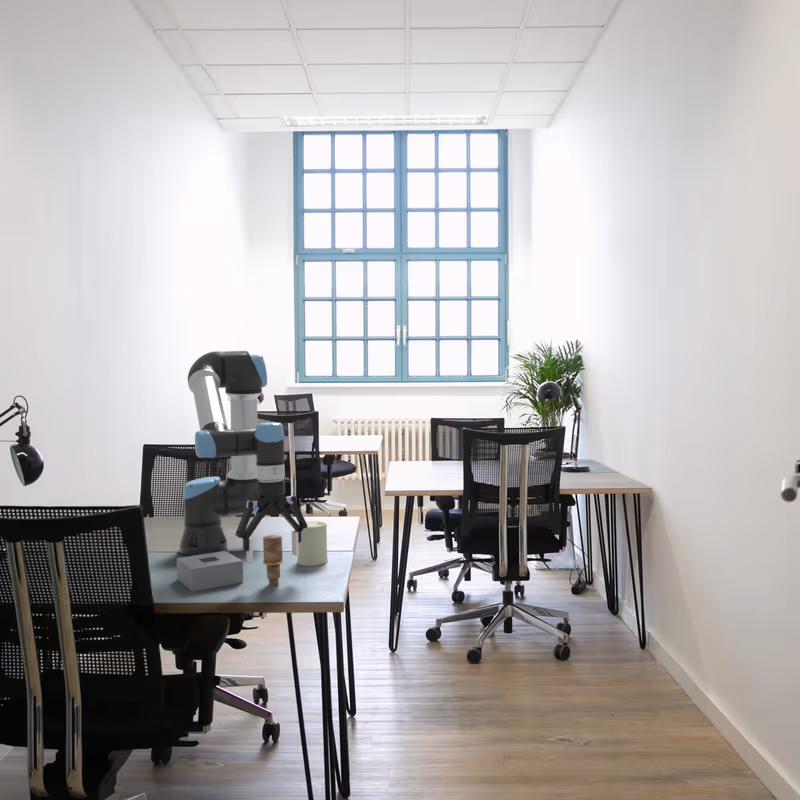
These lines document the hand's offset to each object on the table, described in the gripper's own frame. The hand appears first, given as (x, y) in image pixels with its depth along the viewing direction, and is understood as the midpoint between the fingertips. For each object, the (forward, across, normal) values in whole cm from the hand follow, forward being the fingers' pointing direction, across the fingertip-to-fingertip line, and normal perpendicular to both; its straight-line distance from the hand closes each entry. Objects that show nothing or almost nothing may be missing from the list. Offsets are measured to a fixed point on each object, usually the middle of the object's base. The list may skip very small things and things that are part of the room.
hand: (273, 558), depth 199 cm
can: (+7, +19, +15) cm, 25 cm away
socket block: (+7, -13, +14) cm, 20 cm away
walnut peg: (+7, 0, 0) cm, 7 cm away
